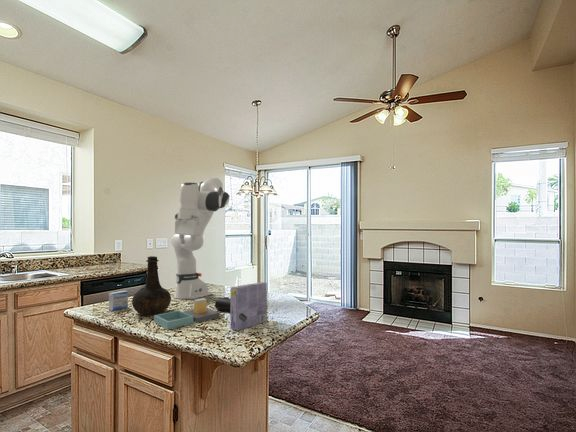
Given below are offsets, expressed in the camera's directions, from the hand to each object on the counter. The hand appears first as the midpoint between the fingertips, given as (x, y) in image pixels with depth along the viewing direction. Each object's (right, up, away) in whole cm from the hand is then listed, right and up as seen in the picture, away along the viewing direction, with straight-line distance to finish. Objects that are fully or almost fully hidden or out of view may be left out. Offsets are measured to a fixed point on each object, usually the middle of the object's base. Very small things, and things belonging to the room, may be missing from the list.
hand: (187, 244), depth 149 cm
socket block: (+7, -34, -2) cm, 35 cm away
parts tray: (-2, -34, -11) cm, 36 cm away
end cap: (+17, -35, +9) cm, 40 cm away
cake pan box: (+32, -34, -12) cm, 48 cm away
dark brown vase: (-19, -35, +6) cm, 40 cm away
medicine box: (-41, -35, +15) cm, 55 cm away
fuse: (+7, -34, -2) cm, 34 cm away
